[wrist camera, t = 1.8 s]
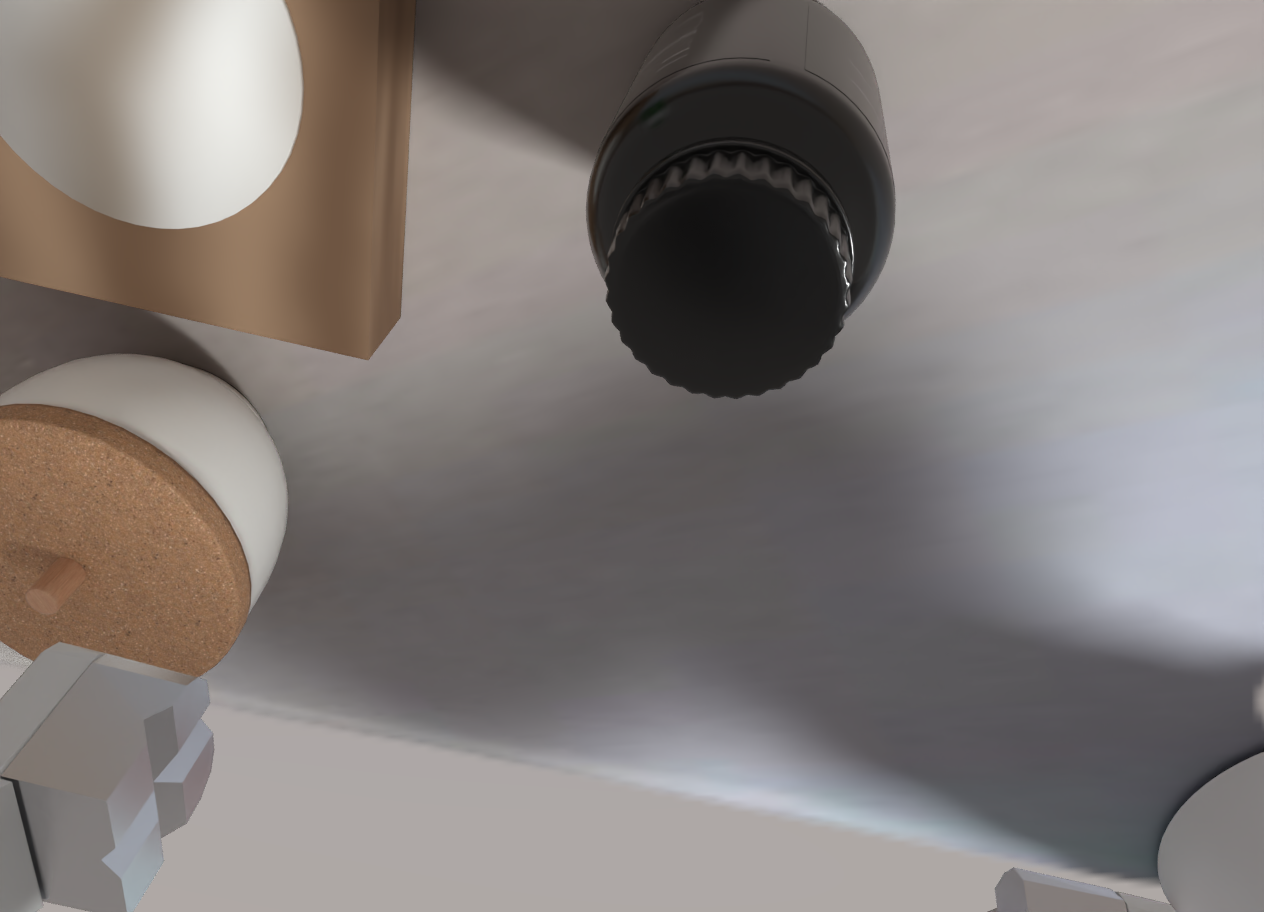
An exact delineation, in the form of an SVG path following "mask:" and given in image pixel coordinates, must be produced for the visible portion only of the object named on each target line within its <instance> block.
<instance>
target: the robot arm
mask: <svg viewBox="0 0 1264 912" xmlns="http://www.w3.org/2000/svg"><path fill="white" fill-rule="evenodd" d="M209 704H210V698H209V691H208V684H207V680H205V679H201V678H198V677H194V676H191V675H187V674H183V673H179V672H175V671H172V670H168V669H164V668H160V667H156V666H153V665H149V664H145V663H141V662H138V661H134V660H130V659H126V658H122V657H119V656H115V655H111V654H107V653H103V652H99V651H95V650H91V649H87V648H83V647H79V646H75V645H70V644H66V643H62V642H58V643H56V644H55V645H53V646H51V647H49V648H48V649H46V650H44V651H43V652H41V653H40V655H39V656H38V657H37V658H36V659H35V660H34V661H33V663H32V664H31V665H30V666H29V667H28V668H27V669H26V671H25V672H24V673H23V674H22V675H21V676H20V678H19V679H18V680H17V681H16V682H15V683H14V684H13V685H12V687H11V688H10V689H9V690H8V691H7V692H6V693H5V694H4V696H3V697H2V698H1V699H0V912H37V911H38V910H40V909H41V908H42V907H43V901H44V902H49V903H53V904H58V905H62V906H67V907H71V908H76V909H81V910H85V911H90V912H133V911H134V910H135V908H136V906H137V905H138V903H139V901H140V900H141V898H142V897H143V895H144V893H145V892H146V890H147V888H148V887H149V885H150V884H151V882H152V880H153V879H154V877H155V875H156V874H157V872H158V870H159V869H160V867H161V865H162V864H163V862H164V858H163V850H162V842H161V838H162V837H164V836H166V835H168V834H169V833H171V832H173V831H175V830H176V829H178V828H180V827H181V826H183V825H185V824H187V822H188V820H189V819H190V817H191V815H192V814H193V812H194V810H195V808H196V806H197V805H198V803H199V801H200V800H201V797H202V794H203V792H204V789H205V786H206V784H207V781H208V778H209V775H210V773H211V769H212V762H213V755H214V740H213V733H212V731H211V730H210V729H209V728H208V727H207V725H206V724H205V723H204V722H203V721H202V719H201V717H202V715H203V713H204V712H205V710H206V709H207V707H208V706H209ZM1158 876H1159V880H1160V884H1161V886H1162V889H1163V892H1164V894H1165V896H1166V897H1167V899H1168V901H1169V902H1170V904H1167V903H1163V902H1159V901H1155V900H1150V899H1146V898H1142V897H1137V896H1134V895H1129V894H1125V893H1121V892H1113V890H1111V889H1109V888H1104V887H1100V886H1095V885H1090V884H1086V883H1081V882H1077V881H1072V880H1068V879H1063V878H1059V877H1054V876H1050V875H1045V874H1041V873H1036V872H1032V871H1027V870H1023V869H1018V868H1014V867H1013V868H1012V869H1010V870H1009V871H1007V872H1005V873H1004V874H1003V876H1002V877H1001V879H1000V881H999V883H998V884H997V886H996V887H995V893H996V902H997V908H996V909H993V910H991V911H988V912H1264V752H1262V753H1259V754H1257V755H1255V756H1252V757H1250V758H1248V759H1246V760H1244V761H1242V762H1240V763H1238V764H1236V765H1235V766H1233V767H1231V768H1229V769H1227V770H1226V771H1224V772H1223V773H1221V774H1219V775H1218V776H1216V777H1215V778H1213V779H1212V780H1211V781H1209V782H1208V783H1206V784H1205V785H1204V786H1203V787H1202V788H1200V789H1199V790H1198V791H1197V792H1196V793H1194V794H1193V795H1192V796H1191V797H1190V798H1189V799H1188V800H1187V801H1186V802H1185V803H1184V805H1183V806H1182V807H1181V808H1180V809H1179V810H1178V812H1177V813H1176V814H1175V816H1174V817H1173V819H1172V820H1171V822H1170V823H1169V825H1168V827H1167V829H1166V831H1165V833H1164V835H1163V838H1162V841H1161V844H1160V848H1159V853H1158ZM1171 905H1172V906H1171ZM1173 908H1174V909H1173Z"/></svg>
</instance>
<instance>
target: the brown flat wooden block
mask: <svg viewBox="0 0 1264 912" xmlns="http://www.w3.org/2000/svg"><path fill="white" fill-rule="evenodd" d="M415 9H416V0H0V277H3V278H8V279H12V280H16V281H21V282H25V283H30V284H34V285H38V286H43V287H47V288H52V289H56V290H60V291H65V292H69V293H74V294H78V295H83V296H87V297H91V298H96V299H100V300H105V301H109V302H113V303H118V304H122V305H127V306H131V307H135V308H140V309H144V310H149V311H153V312H158V313H162V314H166V315H171V316H175V317H180V318H184V319H188V320H193V321H197V322H202V323H206V324H210V325H215V326H219V327H224V328H228V329H233V330H237V331H241V332H246V333H250V334H255V335H259V336H263V337H268V338H272V339H277V340H281V341H285V342H290V343H294V344H299V345H303V346H308V347H312V348H316V349H321V350H325V351H330V352H334V353H338V354H343V355H347V356H352V357H356V358H360V359H365V360H369V359H370V357H371V356H372V355H373V353H374V352H375V351H376V349H377V348H378V347H379V345H380V344H381V343H382V341H383V340H384V339H385V337H386V336H387V335H388V333H389V332H390V331H391V329H392V328H393V327H394V325H395V324H396V323H397V321H398V320H399V319H400V317H401V298H402V277H403V257H404V236H405V215H406V195H407V174H408V153H409V133H410V112H411V91H412V71H413V50H414V30H415Z"/></svg>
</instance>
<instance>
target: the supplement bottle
mask: <svg viewBox="0 0 1264 912" xmlns="http://www.w3.org/2000/svg"><path fill="white" fill-rule="evenodd" d="M586 221H587V229H588V236H589V241H590V245H591V250H592V253H593V256H594V259H595V262H596V264H597V267H598V269H599V271H600V273H601V276H602V277H603V279H604V281H605V283H606V285H607V288H608V291H607V295H606V302H607V304H608V306H609V308H610V309H611V311H612V323H613V324H614V326H615V327H616V328H617V329H618V330H619V331H620V337H621V341H622V342H623V343H624V344H625V345H626V346H628V347H629V348H630V349H631V350H632V352H633V355H634V357H635V359H636V360H638V361H640V362H641V363H644V364H646V366H647V368H648V369H649V370H650V372H651V373H652V374H654V375H657V376H660V377H663V378H664V379H666V381H667V382H668V383H669V384H670V385H673V386H679V387H683V388H685V389H686V390H687V391H689V392H691V393H695V394H700V393H704V394H706V395H708V396H710V397H712V398H719V397H724V396H727V397H730V398H734V399H738V398H741V397H743V396H745V395H753V396H759V395H761V394H763V393H765V392H766V391H767V390H774V389H781V388H782V387H783V386H785V384H786V383H787V382H789V381H792V380H796V379H799V378H801V377H802V376H803V375H804V373H805V372H806V370H807V369H809V368H812V367H814V366H816V365H818V363H819V361H820V360H821V356H822V354H824V353H825V352H827V351H828V350H830V349H831V348H832V347H833V345H834V340H835V336H836V335H837V334H838V333H839V332H840V331H841V330H842V328H843V327H844V320H846V319H847V318H848V317H849V316H850V315H851V314H852V313H853V312H854V311H855V310H856V309H857V308H858V307H859V305H860V304H861V303H862V302H863V300H864V299H865V298H866V297H867V295H868V294H869V293H870V291H871V289H872V288H873V286H874V284H875V283H876V281H877V279H878V277H879V275H880V273H881V271H882V269H883V267H884V265H885V262H886V259H887V257H888V254H889V251H890V247H891V243H892V239H893V232H894V225H895V188H894V180H893V173H892V167H891V161H890V155H889V148H888V142H887V136H886V130H885V123H884V117H883V111H882V105H881V99H880V93H879V88H878V84H877V80H876V77H875V73H874V70H873V67H872V65H871V62H870V60H869V58H868V56H867V54H866V52H865V50H864V48H863V46H862V45H861V43H860V42H859V40H858V39H857V37H856V36H855V34H854V33H853V32H852V31H851V30H850V28H849V27H848V26H847V25H846V24H845V23H844V22H843V21H842V20H841V19H840V18H839V17H838V16H836V15H835V14H834V13H833V12H831V11H830V10H829V9H827V8H826V7H824V6H823V5H821V4H819V3H818V2H816V1H814V0H705V1H703V2H701V3H699V4H697V5H695V6H694V7H692V8H691V9H689V10H688V11H686V12H685V13H684V14H683V15H681V16H680V17H679V18H678V19H676V20H675V21H674V22H673V23H672V24H671V25H670V26H669V27H668V28H667V29H666V30H665V32H664V33H663V34H662V35H661V36H660V38H659V39H658V40H657V42H656V43H655V45H654V46H653V48H652V49H651V51H650V52H649V54H648V56H647V57H646V59H645V61H644V63H643V65H642V66H641V68H640V70H639V72H638V74H637V76H636V78H635V80H634V82H633V84H632V86H631V88H630V89H629V91H628V93H627V95H626V97H625V99H624V101H623V103H622V105H621V107H620V109H619V111H618V113H617V115H616V117H615V118H614V120H613V122H612V124H611V126H610V128H609V130H608V132H607V134H606V136H605V138H604V140H603V142H602V144H601V146H600V149H599V151H598V154H597V156H596V159H595V162H594V166H593V169H592V172H591V176H590V180H589V186H588V191H587V202H586Z"/></svg>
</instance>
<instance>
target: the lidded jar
mask: <svg viewBox="0 0 1264 912" xmlns="http://www.w3.org/2000/svg"><path fill="white" fill-rule="evenodd" d="M287 512H288V490H287V482H286V477H285V472H284V468H283V465H282V462H281V458H280V455H279V453H278V451H277V449H276V446H275V444H274V442H273V440H272V438H271V437H270V435H269V433H268V431H267V429H266V426H265V424H264V422H263V420H262V419H261V417H260V416H259V414H258V413H257V411H256V410H255V408H254V407H253V406H252V405H251V404H250V403H249V401H248V400H247V399H246V398H245V397H244V396H243V395H242V394H240V393H239V392H238V391H237V390H236V389H235V388H233V387H232V386H231V385H229V384H228V383H227V382H225V381H223V380H222V379H220V378H218V377H217V376H215V375H213V374H211V373H208V372H206V371H204V370H201V369H198V368H195V367H192V366H188V365H184V364H181V363H178V362H175V361H171V360H168V359H165V358H161V357H155V356H148V355H140V354H106V355H100V356H93V357H87V358H82V359H76V360H73V361H70V362H67V363H64V364H62V365H59V366H56V367H54V368H51V369H48V370H46V371H43V372H41V373H38V374H36V375H34V376H32V377H30V378H29V379H27V380H25V381H23V382H21V383H19V384H18V385H16V386H14V387H13V388H11V389H9V390H8V391H6V392H5V393H3V394H1V395H0V641H1V642H3V643H4V644H6V645H7V646H9V647H10V648H12V649H14V650H15V651H17V652H18V653H20V654H21V655H23V656H25V657H27V658H29V659H31V660H33V661H34V660H35V659H36V658H37V657H38V656H39V655H40V653H41V652H43V651H44V650H46V649H48V648H49V647H51V646H53V645H55V644H56V643H58V642H62V643H66V644H70V645H75V646H79V647H83V648H87V649H91V650H95V651H99V652H103V653H107V654H111V655H115V656H119V657H122V658H126V659H130V660H134V661H138V662H141V663H145V664H149V665H153V666H156V667H160V668H164V669H168V670H172V671H175V672H179V673H183V674H187V675H191V676H194V677H199V676H201V675H203V674H204V673H205V672H207V671H208V670H210V669H211V668H213V667H214V666H216V665H217V664H218V662H219V661H220V660H221V659H222V658H223V657H224V656H225V655H226V654H227V653H228V651H229V650H230V648H231V647H232V645H233V644H234V642H235V641H236V639H237V637H238V635H239V633H240V632H241V630H242V628H243V626H244V624H245V622H246V620H247V616H248V615H249V613H250V612H251V610H252V608H253V606H254V605H255V603H256V601H257V600H258V598H259V596H260V595H261V593H262V591H263V589H264V587H265V586H266V584H267V582H268V580H269V578H270V576H271V573H272V571H273V569H274V567H275V564H276V562H277V559H278V555H279V552H280V549H281V545H282V542H283V538H284V535H285V531H286V526H287Z"/></svg>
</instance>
